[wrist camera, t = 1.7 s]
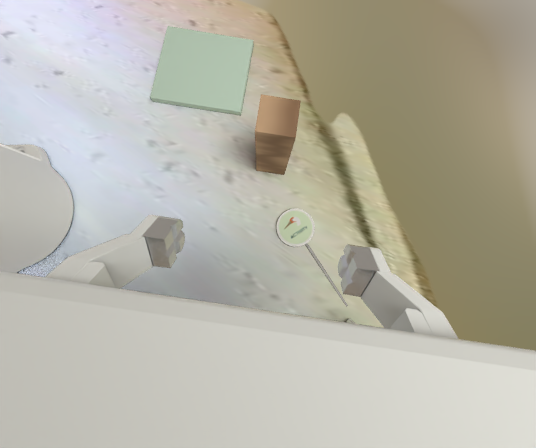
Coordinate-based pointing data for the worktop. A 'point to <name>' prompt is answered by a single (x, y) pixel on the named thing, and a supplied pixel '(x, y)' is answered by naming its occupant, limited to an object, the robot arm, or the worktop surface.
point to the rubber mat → (202, 71)
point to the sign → (299, 233)
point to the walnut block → (275, 133)
